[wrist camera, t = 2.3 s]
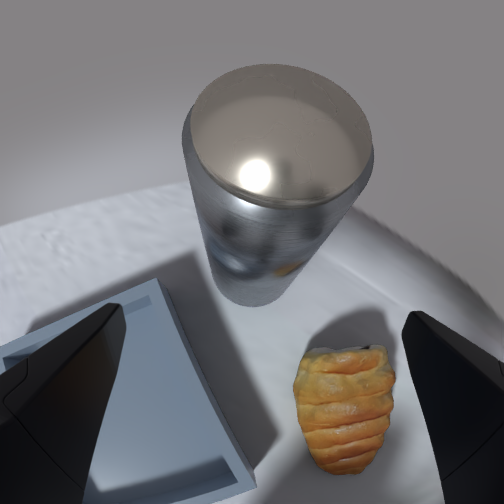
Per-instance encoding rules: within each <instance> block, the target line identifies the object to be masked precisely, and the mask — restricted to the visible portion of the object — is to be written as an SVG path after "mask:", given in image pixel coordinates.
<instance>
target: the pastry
mask: <svg viewBox="0 0 504 504" xmlns="http://www.w3.org/2000/svg"><path fill="white" fill-rule="evenodd" d="M395 380H396V377H395V372H394V370H393V369H392V368H391V366H390V364H389V361H388V356H387V350H386V348H385V347H384V346H382V345H377V344H376V345H369V346H366V347H361V346H354V347H349V348H343V349H339V350H333V349H331V348H327V347H322V348H314V349H311V350H309V351H308V352H306V353H305V354H304V356H303V357H302V359H301V361H300V364H299V368H298V372H297V375H296V378H295V381H294V385H293V392H294V396H295V400H296V407H297V416H298V422H299V424H300V426H301V429H302V433H303V434H304V436H305V439H306V443H307V445H308V449H309V451H310V453H311V455H312V457H313V459H314V460H315V462H316V464H317V466H318V467H320V468H321V469H323V470H324V471H326V472H328V473H331V474H333V475H345V474H351V475H356V474H359V473H361V472H362V471H363V470H364V469H365V467H366V466H367V465H369V464H370V463H371V462H372V460H373V458H374V457H375V454H376V452H377V451H378V449H379V448H380V447H381V446H382V445H383V442H384V432H385V431H386V430H387V428H388V427H389V426H390V412H391V411H392V410H393V407H394V403H393V402H394V400H393V397H392V395H391V387H392V386H393V385H394V383H395Z"/></svg>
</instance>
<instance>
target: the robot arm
mask: <svg viewBox="0 0 504 504" xmlns="http://www.w3.org/2000/svg"><path fill="white" fill-rule="evenodd" d="M126 328H127V327H126V321H125V316H124V312H123V307H122V305H121V304H120V303H112V302H109V303H107V304H105V305H103V306H102V307H100V308H99V309H97V310H96V311H94V312H93V313H91V314H90V315H88V316H87V317H85V318H84V319H82V320H81V321H79V322H78V323H76V324H75V325H73V326H72V327H70V328H69V329H67V330H66V331H64V332H63V333H61V334H60V335H58V336H57V337H55V338H54V339H52V340H51V341H49V342H48V343H46V344H45V345H43V346H42V347H40V348H39V349H37V350H36V351H35V352H33V353H32V354H30V355H29V356H28V357H26V358H24V359H23V360H21V361H20V362H19V363H17V364H16V365H14V366H13V367H11V368H10V369H8V370H7V371H5V372H3V373H2V374H0V504H82V502H83V497H84V493H85V492H84V491H85V488H86V483H87V479H88V475H89V470H90V466H91V462H92V458H93V454H94V451H95V447H96V443H97V439H98V436H99V432H100V429H101V425H102V422H103V418H104V415H105V411H106V408H107V405H108V401H109V398H110V395H111V392H112V389H113V385H114V382H115V379H116V376H117V372H118V368H119V363H120V358H121V353H122V349H123V344H124V340H125V335H126ZM402 341H403V345H404V349H405V353H406V357H407V361H408V366H409V370H410V374H411V377H412V381H413V384H414V387H415V390H416V393H417V396H418V399H419V402H420V405H421V409H422V412H423V415H424V419H425V422H426V425H427V429H428V433H429V436H430V440H431V443H432V447H433V451H434V455H435V459H436V463H437V467H438V471H439V476H440V480H441V485H442V490H443V495H444V500H445V504H504V363H503V362H501V361H500V360H499V361H498V359H496V358H495V357H493V356H492V355H490V354H489V353H487V352H486V351H484V350H483V349H481V348H480V347H478V346H477V345H475V344H473V343H472V342H470V341H469V340H467V339H466V338H464V337H463V336H461V335H459V334H458V333H456V332H455V331H453V330H452V329H450V328H448V327H447V326H445V325H444V324H442V323H440V322H439V321H437V320H436V319H434V318H432V317H431V316H429V315H428V314H426V313H424V312H423V311H412V312H410V313H409V315H408V317H407V320H406V322H405V325H404V327H403V329H402Z"/></svg>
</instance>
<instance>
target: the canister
mask: <svg viewBox="0 0 504 504" xmlns="http://www.w3.org/2000/svg"><path fill="white" fill-rule="evenodd" d="M182 147H183V153H184V158H185V162H186V167H187V172H188V176H189V181H190V185H191V190H192V194H193V198H194V203H195V207H196V211H197V215H198V220H199V224H200V228H201V232H202V236H203V240H204V244H205V248H206V252H207V256H208V260H209V264H210V268H211V272H212V276H213V279H214V282H215V284H216V286H217V288H218V289H219V291H220V292H221V293H222V294H223V295H224V296H225V297H226V298H227V299H229V300H230V301H232V302H234V303H236V304H238V305H242V306H247V307H259V306H264V305H267V304H269V303H271V302H273V301H275V300H276V299H278V298H279V297H280V296H281V295H282V294H283V293H284V292H285V291H286V289H287V288H288V287H289V286H290V284H291V283H292V282H293V281H294V279H295V278H296V277H297V276H298V274H299V273H300V272H301V271H302V269H303V268H304V267H305V266H306V264H307V263H308V262H309V260H310V259H311V258H312V257H313V255H314V254H315V253H316V252H317V250H318V249H319V248H320V246H321V245H322V244H323V243H324V241H325V240H326V239H327V237H328V236H329V235H330V233H331V232H332V231H333V229H334V228H335V227H336V226H337V224H338V223H339V222H340V220H341V219H342V218H343V216H344V215H345V214H346V212H347V211H348V210H349V208H350V207H351V206H352V204H353V203H354V201H355V200H356V199H357V198H358V196H359V195H360V193H361V192H362V190H363V189H364V188H365V186H366V185H367V183H368V181H369V178H370V176H371V173H372V169H373V163H374V150H373V144H372V137H371V131H370V127H369V124H368V121H367V119H366V116H365V115H364V113H363V111H362V110H361V108H360V107H359V105H358V104H357V103H356V101H355V100H354V99H353V98H352V97H351V96H350V95H349V94H348V93H347V92H346V91H345V90H343V89H342V88H341V87H339V86H338V85H337V84H335V83H334V82H332V81H331V80H329V79H327V78H325V77H323V76H321V75H319V74H317V73H314V72H312V71H309V70H306V69H302V68H298V67H294V66H289V65H280V64H260V65H252V66H246V67H243V68H239V69H236V70H233V71H231V72H228V73H226V74H224V75H222V76H220V77H219V78H217V79H216V80H214V81H213V82H212V83H210V84H209V85H208V86H207V87H206V88H205V89H204V90H203V91H202V93H201V94H200V95H199V97H198V98H197V100H196V102H195V104H194V105H193V106H192V108H191V109H190V111H189V113H188V115H187V117H186V120H185V122H184V126H183V131H182Z"/></svg>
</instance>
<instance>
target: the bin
mask: <svg viewBox="0 0 504 504" xmlns="http://www.w3.org/2000/svg"><path fill="white" fill-rule="evenodd" d="M109 302H112V303H120V304H121V305H122V307H123V312H124V316H125V321H126V327H127V328H126V335H125V340H124V344H123V349H122V353H121V358H120V363H119V368H118V372H117V376H116V379H115V382H114V385H113V389H112V392H111V395H110V398H109V401H108V405H107V408H106V411H105V415H104V418H103V422H102V425H101V429H100V432H99V436H98V439H97V443H96V447H95V451H94V454H93V458H92V462H91V466H90V470H89V475H88V479H87V483H86V488H85V491H84V492H85V493H84V497H83V502H82V504H211V503H214V502H217V501H221V500H224V499H227V498H229V497H232V496H235V495H238V494H241V493H243V492H246V491H249V490H251V489H254V488H257V485H256V480H255V475H254V470H253V469H252V467H251V465H250V463H249V462H248V460H247V458H246V456H245V454H244V453H243V451H242V449H241V447H240V445H239V444H238V442H237V440H236V438H235V436H234V434H233V432H232V430H231V429H230V427H229V425H228V423H227V421H226V419H225V417H224V415H223V413H222V411H221V409H220V407H219V405H218V403H217V401H216V399H215V397H214V395H213V393H212V391H211V389H210V387H209V385H208V383H207V381H206V379H205V376H204V374H203V372H202V370H201V368H200V366H199V364H198V361H197V359H196V357H195V355H194V353H193V350H192V348H191V346H190V344H189V341H188V339H187V337H186V334H185V332H184V330H183V328H182V325H181V323H180V320H179V318H178V316H177V313H176V311H175V308H174V306H173V304H172V301H171V299H170V296H169V294H168V291H167V289H166V287H165V286H164V285H163V284H162V283H161V282H160V281H159V280H158V279H157V278H154V279H151V280H149V281H147V282H144V283H142V284H140V285H138V286H135V287H133V288H131V289H128V290H126V291H124V292H121V293H119V294H117V295H115V296H112V297H110V298H108V299H105V300H103V301H101V302H99V303H96V304H94V305H92V306H90V307H87V308H85V309H83V310H80V311H78V312H76V313H74V314H71V315H69V316H67V317H65V318H62V319H60V320H58V321H56V322H53V323H51V324H49V325H47V326H45V327H42V328H40V329H38V330H36V331H33V332H31V333H29V334H27V335H25V336H22V337H20V338H18V339H16V340H14V341H11V342H9V343H7V344H5V345H3V346H0V374H2V373H3V372H5V371H7V370H8V369H10V368H11V367H13V366H14V365H16V364H17V363H19V362H20V361H21V360H23V359H24V358H26V357H28V356H29V355H30V354H32V353H33V352H35V351H36V350H37V349H39V348H40V347H42V346H43V345H45V344H46V343H48V342H49V341H51V340H52V339H54V338H55V337H57V336H58V335H60V334H61V333H63V332H64V331H66V330H67V329H69V328H70V327H72V326H73V325H75V324H76V323H78V322H79V321H81V320H82V319H84V318H85V317H87V316H88V315H90V314H91V313H93V312H94V311H96V310H97V309H99V308H100V307H102V306H103V305H105V304H107V303H109Z"/></svg>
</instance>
